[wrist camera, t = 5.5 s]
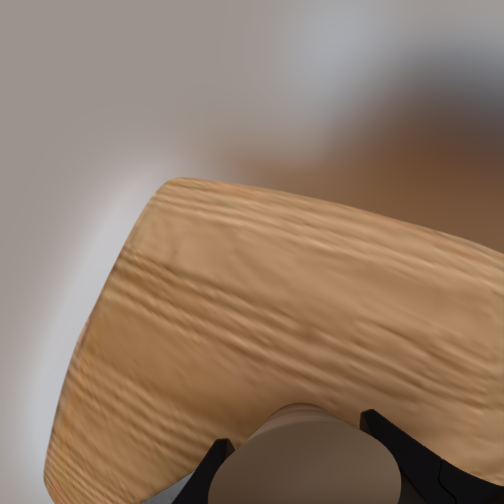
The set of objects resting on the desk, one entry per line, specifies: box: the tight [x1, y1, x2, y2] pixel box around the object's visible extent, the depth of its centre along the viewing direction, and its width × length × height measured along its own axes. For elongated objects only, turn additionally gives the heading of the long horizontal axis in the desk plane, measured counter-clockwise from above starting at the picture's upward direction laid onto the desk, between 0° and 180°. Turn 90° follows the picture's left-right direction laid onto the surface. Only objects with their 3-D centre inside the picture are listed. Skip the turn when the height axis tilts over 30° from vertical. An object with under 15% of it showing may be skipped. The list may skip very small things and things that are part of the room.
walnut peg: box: [208, 403, 401, 504], centre depth 8 cm, size 4×4×10 cm
